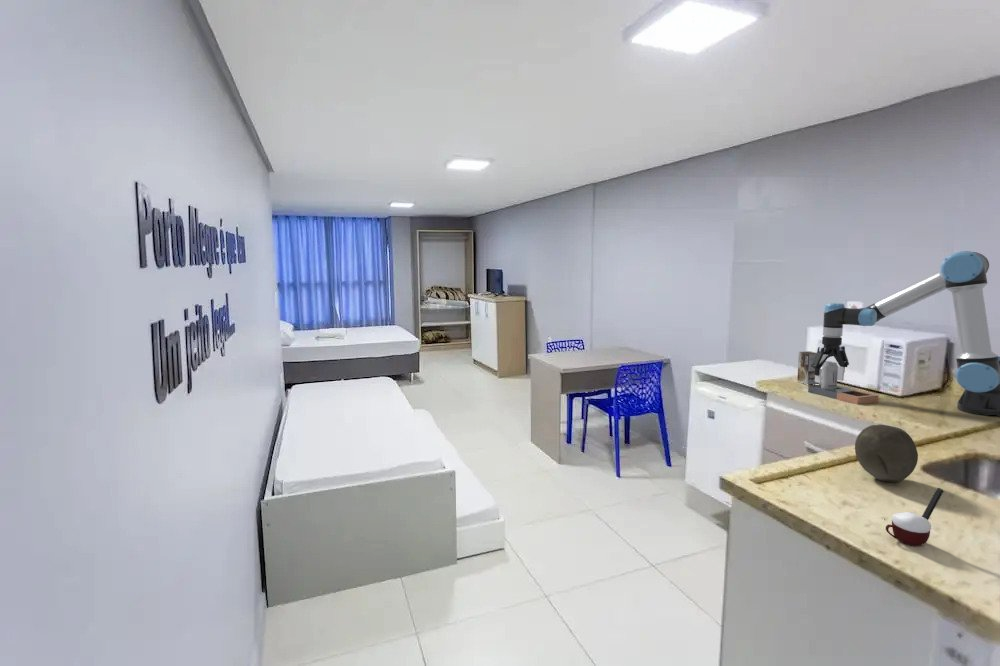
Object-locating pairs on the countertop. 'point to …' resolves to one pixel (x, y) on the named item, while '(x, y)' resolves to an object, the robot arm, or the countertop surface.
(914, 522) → the cocoa
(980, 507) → the countertop surface
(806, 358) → the coffee box
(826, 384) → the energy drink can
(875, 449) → the dark grey rounded lump
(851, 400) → the shallow tray
